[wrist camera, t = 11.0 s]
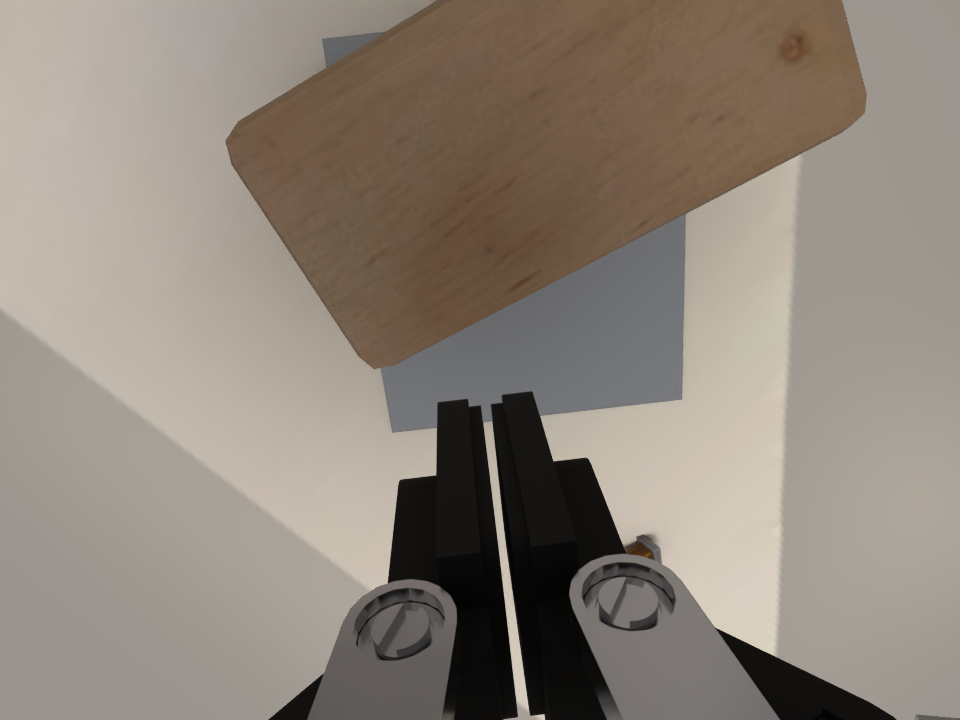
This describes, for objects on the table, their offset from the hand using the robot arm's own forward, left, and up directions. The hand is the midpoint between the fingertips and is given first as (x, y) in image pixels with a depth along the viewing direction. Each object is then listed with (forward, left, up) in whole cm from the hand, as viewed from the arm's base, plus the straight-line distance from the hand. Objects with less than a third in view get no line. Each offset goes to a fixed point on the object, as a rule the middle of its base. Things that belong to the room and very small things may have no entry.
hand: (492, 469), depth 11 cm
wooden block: (-1, -6, -17) cm, 18 cm away
